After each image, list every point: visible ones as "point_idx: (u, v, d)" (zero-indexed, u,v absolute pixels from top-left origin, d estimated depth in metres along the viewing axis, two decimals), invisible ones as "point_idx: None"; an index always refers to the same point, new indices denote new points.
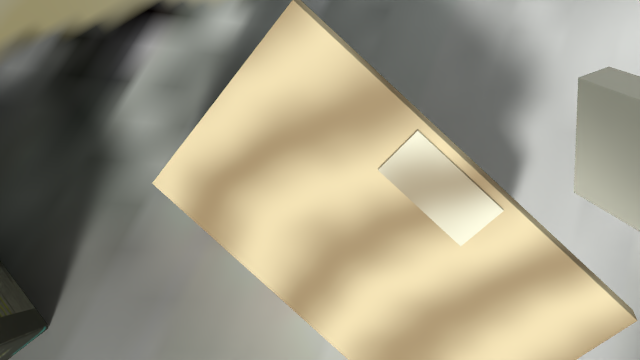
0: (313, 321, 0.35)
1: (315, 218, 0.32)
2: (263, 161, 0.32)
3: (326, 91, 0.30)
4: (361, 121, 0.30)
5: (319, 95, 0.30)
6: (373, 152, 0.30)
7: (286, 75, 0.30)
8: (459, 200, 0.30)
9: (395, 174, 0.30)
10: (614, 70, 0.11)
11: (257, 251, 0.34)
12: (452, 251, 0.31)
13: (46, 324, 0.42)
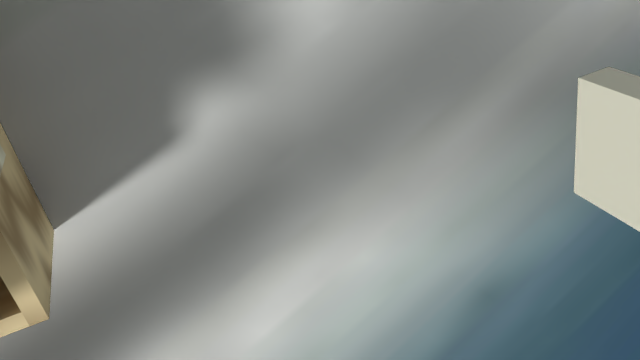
0: None
1: None
2: None
3: None
4: None
5: None
6: None
7: None
8: None
9: None
10: (614, 70, 0.11)
11: None
12: None
13: None
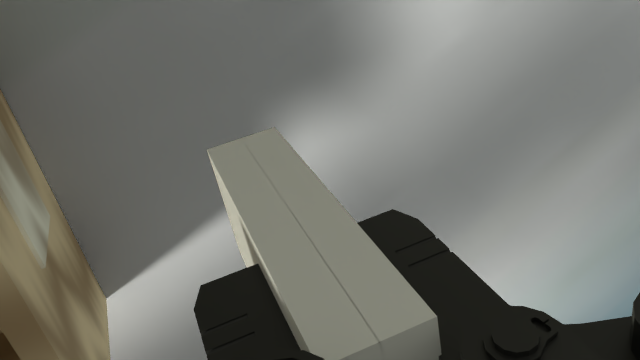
0: None
1: None
2: None
3: None
4: None
5: None
6: None
7: None
8: None
9: None
10: (274, 131, 0.12)
11: None
12: None
13: None
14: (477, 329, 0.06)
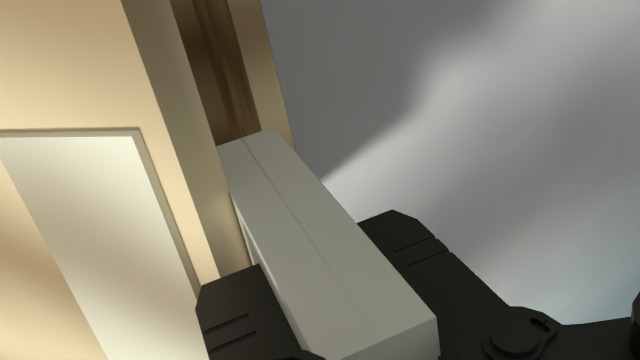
0: None
1: None
2: None
3: None
4: None
5: None
6: None
7: None
8: (157, 326, 0.11)
9: (31, 179, 0.10)
10: (274, 131, 0.12)
11: None
12: None
13: None
14: (476, 330, 0.06)
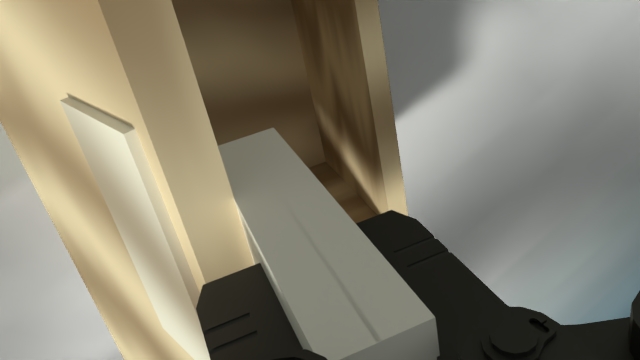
0: (16, 149, 0.20)
1: None
2: None
3: None
4: None
5: None
6: (60, 60, 0.10)
7: None
8: (172, 300, 0.12)
9: (85, 143, 0.11)
10: (273, 131, 0.12)
11: None
12: None
13: None
14: (475, 330, 0.06)
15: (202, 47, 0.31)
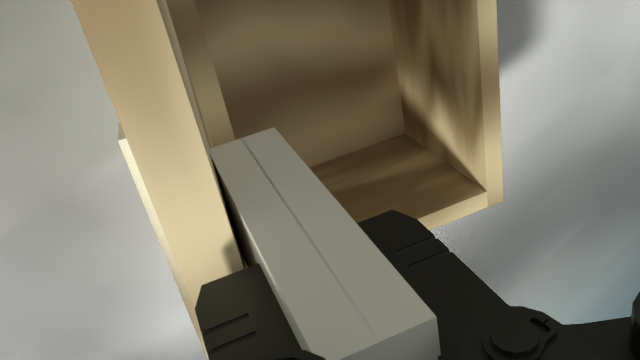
0: None
1: None
2: None
3: None
4: None
5: None
6: None
7: None
8: None
9: None
10: (274, 131, 0.12)
11: None
12: None
13: None
14: (477, 329, 0.06)
15: (302, 18, 0.32)
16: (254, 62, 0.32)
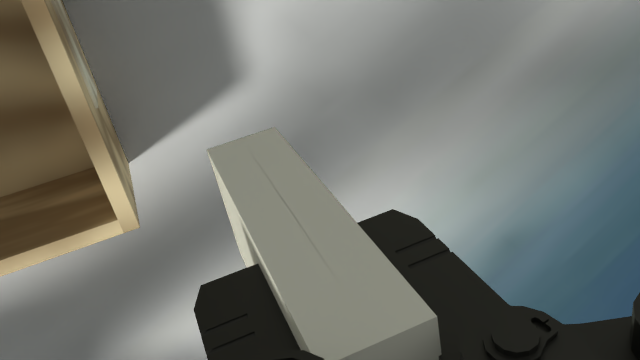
0: None
1: None
2: None
3: None
4: None
5: None
6: None
7: None
8: None
9: None
10: (274, 131, 0.12)
11: None
12: None
13: None
14: (477, 329, 0.06)
15: None
16: None
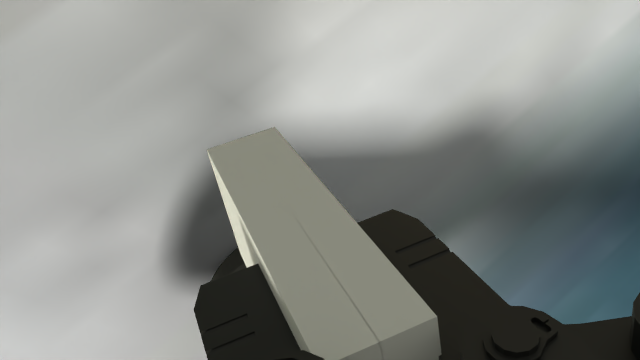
0: None
1: None
2: None
3: None
4: None
5: None
6: None
7: None
8: None
9: None
10: (274, 131, 0.12)
11: None
12: None
13: None
14: (477, 329, 0.06)
15: None
16: None
